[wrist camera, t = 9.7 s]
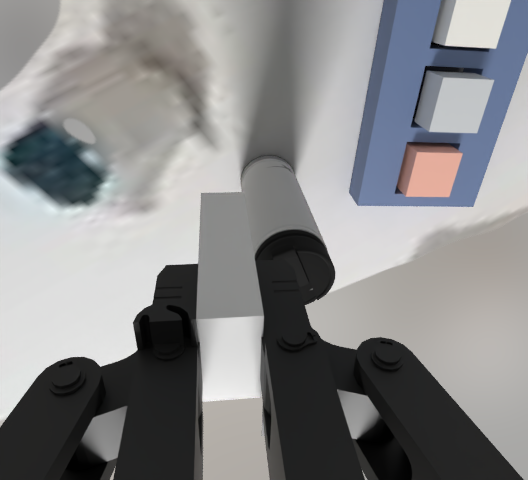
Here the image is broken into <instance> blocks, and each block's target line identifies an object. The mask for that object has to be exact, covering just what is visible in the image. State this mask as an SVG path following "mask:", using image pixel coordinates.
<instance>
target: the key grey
mask: <svg viewBox="0 0 528 480" xmlns="http://www.w3.org/2000/svg"><path fill="white" fill-rule="evenodd" d="M493 83H494V80H493V79H490V78H487V77H485V76H482V75H479V74H476V73H465V72H446V71H427V72H426V76H425V80H424V84H423V88H422V92H421V96H420V100H419V104H418V109H417V113H416V117H415V121H414V122H416V123H417V124H418V125H420V126H421V127H423V128H424V129H426V130H427V131H429V132H450V133H477V132H478V129H479V126H480V123H481V120H482V117H483V114H484V110H485V107H486V104H487V101H488V98H489V95H490V92H491V89H492V86H493Z"/></svg>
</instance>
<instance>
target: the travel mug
mask: <svg viewBox="0 0 528 480" xmlns="http://www.w3.org/2000/svg"><path fill="white" fill-rule="evenodd" d="M241 189H242V192H244V196H245V202H246V208H247V214H248V220H249V227H250V233H251V239H252V245H253V251H254V257H255V261H259V260H285V261H286V262H287V263H288V264H289V265H290V266H291V267H292V268H293V269H294V271H295V274H296V278H297V282H298V285H299V288H300V292H301V295H302V298H303V302H304V305H307V304H309V303H311V302H314V301H315V300H316V299H317V300H319V299H320V298H322V297H323V296H325V295H326V294H327V293H328V291H329V290H330V289H331V287H332V285H333V283H334V280H335V269H334V266H333V263H332V261H331V259H330V256H329V254H328V251H327V248H326V245H325V243H324V241H323V238H322V236H321V234H320V231H319V229H318V227H317V225H316V222H315V220H314V218H313V215H312V213H311V211H310V208H309V206H308V204H307V201H306V199H305V197H304V195H303V192H302V190H301V188H300V185H299V183H298V181H297V178H296V176H295V174H294V171H293V169H292V167H291V166H290V165H289V164H288V163H287V162H286V161H285V160H284V159H282V158H280V157H276V156H270V155H268V156H262V157H258V158H256V159H254V160H253V161H251V162H250V163H249V164H248V165H247V166H246V167H245V169H244V171H243V173H242V176H241Z"/></svg>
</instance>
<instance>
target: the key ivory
mask: <svg viewBox="0 0 528 480" xmlns="http://www.w3.org/2000/svg"><path fill="white" fill-rule="evenodd" d="M510 3H511V0H441V4H440V8H439V12H438V16H437V20H436V24H435V28H434V33H433V37H432V41H431V42H434V43H437V44H441V45H444V46H460V47H477V48H493V49H496V47H497V44H498V41H499V37H500V34H501V31H502V28H503V25H504V22H505V18H506V15H507V12H508V9H509V6H510Z"/></svg>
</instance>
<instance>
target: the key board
mask: <svg viewBox="0 0 528 480" xmlns="http://www.w3.org/2000/svg"><path fill="white" fill-rule="evenodd" d="M440 4H441V0H384V3H383V9H382V14H381V20H380V25H379V31H378V36H377V42H376V47H375V53H374V58H373V64H372V69H371V75H370V80H369V86H368V91H367V97H366V102H365V108H364V113H363V119H362V124H361V130H360V135H359V141H358V146H357V152H356V157H355V163H354V168H353V174H352V179H351V185H350V190H349V193H350V195H351V196H352V198H353V199H354V201H355V202H356V204H357V205H358V206H452V207H473V206H474V203H475V200H476V197H477V195H478V192H479V189H480V186H481V183H482V180H483V178H484V175H485V172H486V169H487V166H488V163H489V161H490V158H491V155H492V152H493V149H494V146H495V144H496V141H497V138H498V135H499V132H500V129H501V126H502V124H503V121H504V118H505V115H506V112H507V109H508V107H509V104H510V101H511V98H512V95H513V92H514V90H515V87H516V84H517V81H518V78H519V75H520V73H521V70H522V67H523V64H524V61H525V58H526V55H527V53H528V0H511V3H510V6H509V9H508V12H507V15H506V18H505V22H504V25H503V28H502V31H501V34H500V37H499V41H498V44H497V47H496V49H493V48H477V47H457V46H440V45H431V41H432V37H433V33H434V28H435V24H436V20H437V16H438V12H439V8H440ZM425 66H441V67H460V68H464V69H463V72H465V73H476V74H479V75H482V76H485V77H487V78H490V79H493V80H494V83H493V86H492V89H491V92H490V95H489V98H488V101H487V104H486V107H485V110H484V114H483V117H482V120H481V123H480V126H479V129H478V132H477V133H450V132H429V131H427V130H426V129H424V128H423V127H421V126H420V125H418V124H417V123H416V122H414V121H415V119H413V115H414V111H415V107H416V103H417V99H418V94H419V90H420V86H421V82H422V78H423V74H424V70H425ZM407 142H430V143H448V144H450V145H451V146H453V147H454V148H456V149H457V150H459V151H460V152H462V153H463V155H462V158H461V161H460V164H459V167H458V171H457V174H456V177H455V180H454V183H453V186H452V190H451V193H450V196H449V197H406V196H405V195H404V194H403V193H402V192H401V191H400V190H399V189H398V187H397V186H396V185H397V181H398V177H399V173H400V169H401V165H402V161H403V156H404V152H405V148H406V144H407Z"/></svg>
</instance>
